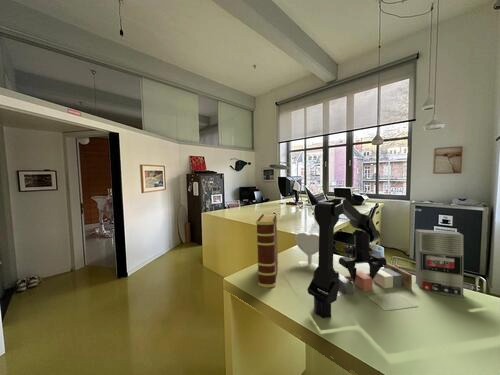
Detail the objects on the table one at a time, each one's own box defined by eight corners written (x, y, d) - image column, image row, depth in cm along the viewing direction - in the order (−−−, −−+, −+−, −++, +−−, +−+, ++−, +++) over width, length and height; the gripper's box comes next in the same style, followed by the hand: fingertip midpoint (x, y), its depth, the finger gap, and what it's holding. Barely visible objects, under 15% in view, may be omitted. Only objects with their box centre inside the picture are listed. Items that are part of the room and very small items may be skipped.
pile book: (418, 312, 73) (418, 306, 73) (385, 316, 71) (385, 310, 71) (396, 297, 82) (396, 292, 82) (367, 301, 80) (367, 296, 80)
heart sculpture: (295, 263, 118) (294, 232, 117) (298, 260, 122) (297, 230, 121) (322, 269, 108) (322, 235, 108) (325, 265, 113) (324, 233, 112)
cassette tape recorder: (419, 292, 84) (419, 232, 83) (415, 285, 90) (414, 229, 89) (465, 300, 78) (465, 235, 77) (457, 292, 84) (457, 231, 83)
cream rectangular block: (393, 288, 86) (393, 276, 86) (384, 289, 85) (384, 276, 85) (380, 280, 93) (380, 268, 93) (372, 281, 92) (372, 269, 92)
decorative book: (275, 288, 91) (273, 221, 90) (257, 287, 92) (255, 221, 91) (278, 267, 113) (276, 213, 112) (263, 266, 114) (262, 213, 113)
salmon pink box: (372, 291, 85) (372, 278, 84) (363, 292, 84) (363, 279, 84) (361, 283, 92) (360, 270, 91) (352, 283, 91) (352, 271, 91)
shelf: (413, 292, 84) (413, 274, 84) (339, 301, 79) (339, 282, 79) (388, 278, 97) (388, 261, 97) (323, 285, 92) (322, 268, 92)
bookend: (353, 294, 82) (353, 283, 82) (337, 296, 81) (337, 285, 81) (340, 283, 91) (340, 273, 91) (325, 285, 90) (325, 275, 90)
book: (402, 287, 87) (402, 275, 86) (393, 288, 86) (393, 275, 86) (388, 279, 94) (388, 268, 93) (380, 280, 93) (380, 268, 93)
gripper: (368, 238, 97) (368, 270, 97) (331, 240, 94) (332, 274, 94) (387, 245, 85) (387, 281, 86) (346, 248, 83) (346, 286, 83)
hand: (362, 280), depth 88 cm, fingers open, 8 cm apart
